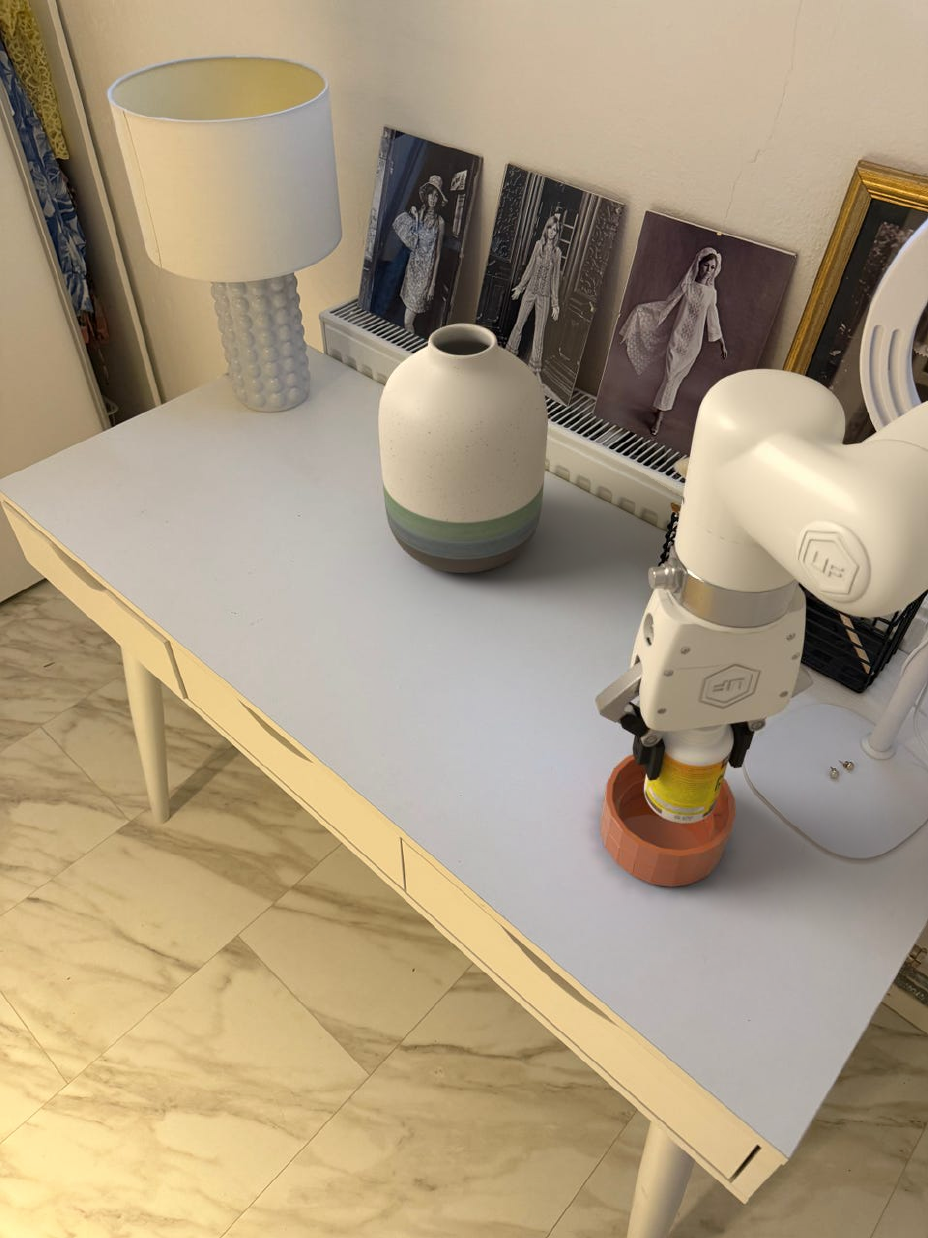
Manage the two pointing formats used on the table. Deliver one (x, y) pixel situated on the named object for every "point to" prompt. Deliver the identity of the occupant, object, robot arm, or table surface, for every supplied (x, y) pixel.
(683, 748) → the supplement bottle
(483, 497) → the vase
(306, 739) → the table surface
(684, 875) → the bowl
